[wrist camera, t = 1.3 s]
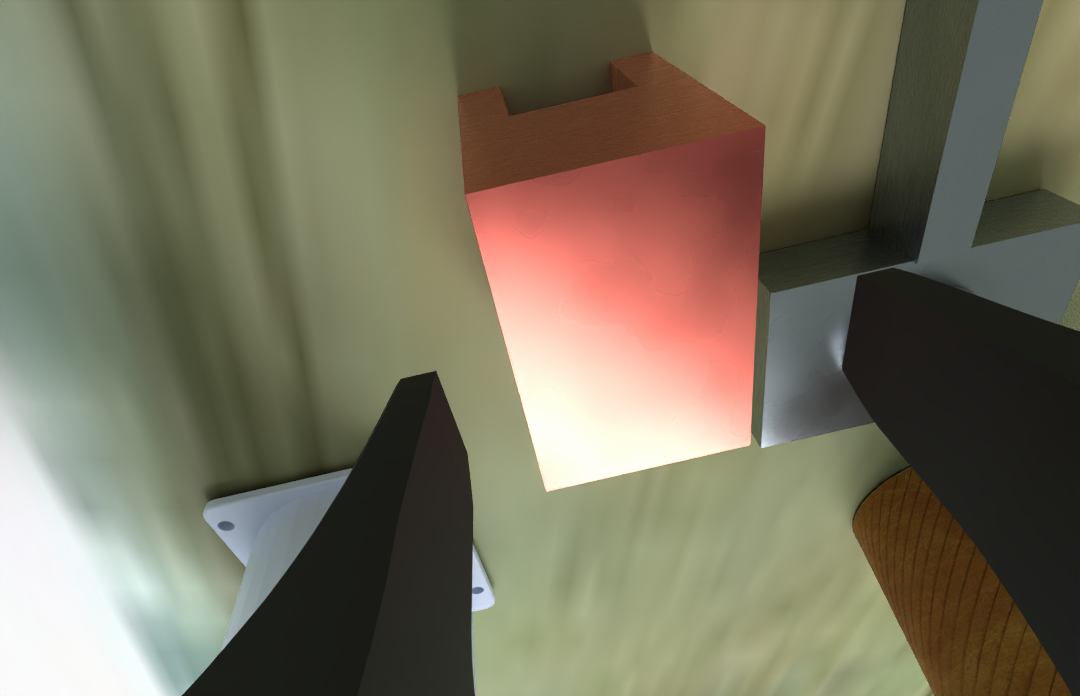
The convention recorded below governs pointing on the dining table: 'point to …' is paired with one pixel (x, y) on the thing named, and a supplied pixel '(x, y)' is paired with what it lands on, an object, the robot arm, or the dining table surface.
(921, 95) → the lip
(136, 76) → the dining table surface
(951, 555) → the disposable coffee cup
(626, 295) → the block
